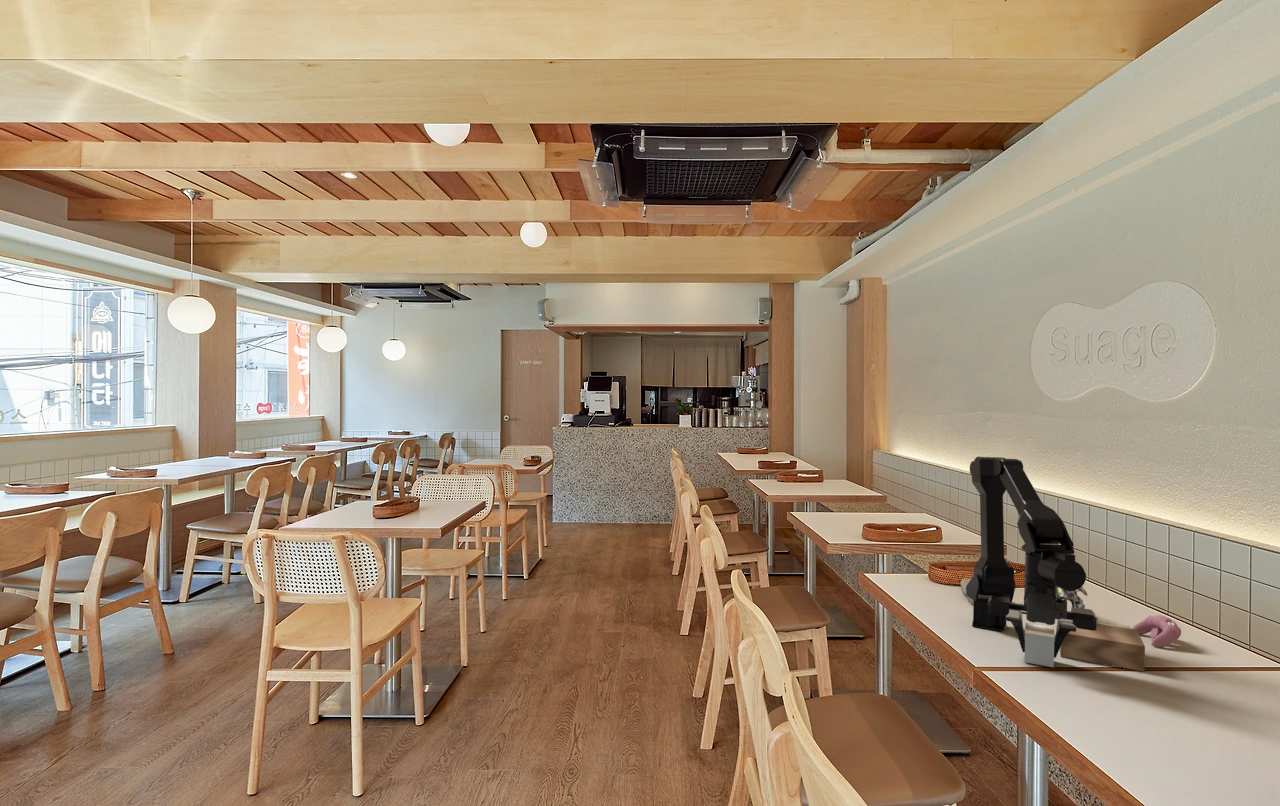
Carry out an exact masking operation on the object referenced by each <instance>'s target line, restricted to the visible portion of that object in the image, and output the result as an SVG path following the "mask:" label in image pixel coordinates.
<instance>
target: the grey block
mask: <svg viewBox="0 0 1280 806" xmlns="http://www.w3.org/2000/svg"><path fill="white" fill-rule="evenodd" d="M1024 625H1025V628H1024V629H1025V630H1024V638H1025V652H1024V663H1028V664H1033V665H1039V666H1043V667H1050V668H1055V667H1054V666H1055V665H1054V664H1055V658H1054V641H1055V635H1056V633H1055V628H1054V627H1051V626H1047V625H1041V624H1040V625H1039V624H1034V623H1028V622H1027V623H1026V622H1025V624H1024Z"/></svg>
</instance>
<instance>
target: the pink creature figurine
mask: <svg viewBox="0 0 1280 806" xmlns="http://www.w3.org/2000/svg"><path fill="white" fill-rule="evenodd" d="M1131 629H1137V631H1138V633H1139V635H1140V636H1142V635H1146V634H1148V633H1150V634H1149V637H1150V638H1151V639H1152V641H1151V645H1152V646H1153V647H1154V648H1156V649H1157V648H1158V649H1160V648H1165V647H1167V646H1169V645H1171V644H1172V643H1173V642H1176V641H1178V640H1179V638H1180V637H1181V635H1182V629H1181V627H1179V626H1178V624H1177V623H1176V621H1175V620H1173V619H1171V618H1170V617H1167V616H1165V615H1161V614H1160V615H1158V614H1157V615H1156V613H1152V614H1151V615H1148V616H1147V617H1146V618H1145V619H1143V620H1142V621H1140V622H1138V623H1136V624H1135V625H1133V626H1132V628H1131Z"/></svg>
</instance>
